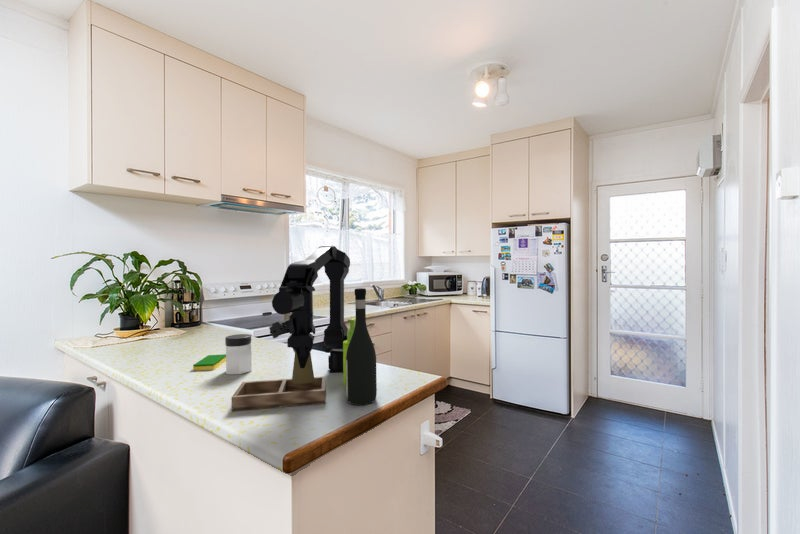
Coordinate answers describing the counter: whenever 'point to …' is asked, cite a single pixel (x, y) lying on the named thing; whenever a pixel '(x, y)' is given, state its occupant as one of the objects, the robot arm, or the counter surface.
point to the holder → (278, 394)
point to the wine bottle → (361, 358)
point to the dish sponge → (210, 362)
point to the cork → (302, 371)
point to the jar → (238, 354)
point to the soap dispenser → (347, 344)
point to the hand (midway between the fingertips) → (303, 365)
